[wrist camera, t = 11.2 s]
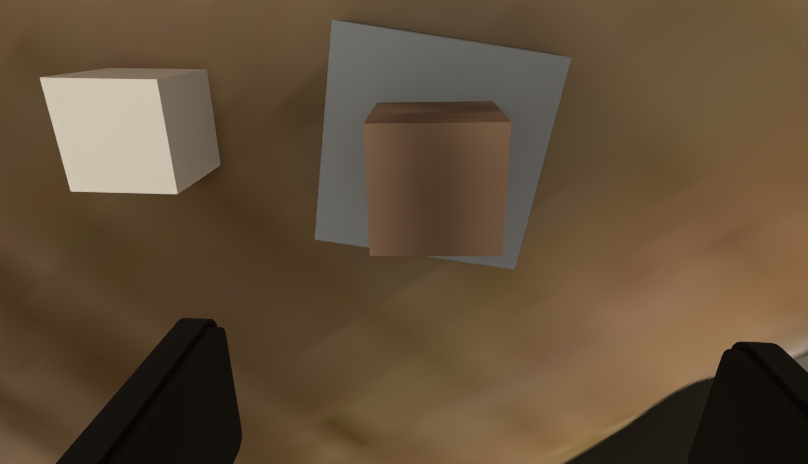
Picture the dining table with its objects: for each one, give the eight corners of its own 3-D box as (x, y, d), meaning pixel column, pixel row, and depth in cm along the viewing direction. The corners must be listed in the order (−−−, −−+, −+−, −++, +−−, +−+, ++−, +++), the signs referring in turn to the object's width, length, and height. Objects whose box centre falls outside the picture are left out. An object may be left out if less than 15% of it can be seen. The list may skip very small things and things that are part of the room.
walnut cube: (493, 101, 25) (511, 122, 19) (487, 210, 27) (502, 256, 22) (377, 102, 25) (363, 123, 20) (381, 210, 28) (369, 256, 22)
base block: (548, 52, 29) (571, 57, 24) (503, 236, 33) (514, 269, 29) (347, 20, 28) (331, 19, 24) (330, 209, 33) (314, 239, 29)
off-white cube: (207, 69, 30) (156, 79, 24) (221, 164, 32) (177, 194, 26) (111, 67, 30) (39, 77, 24) (132, 162, 32) (70, 191, 27)
